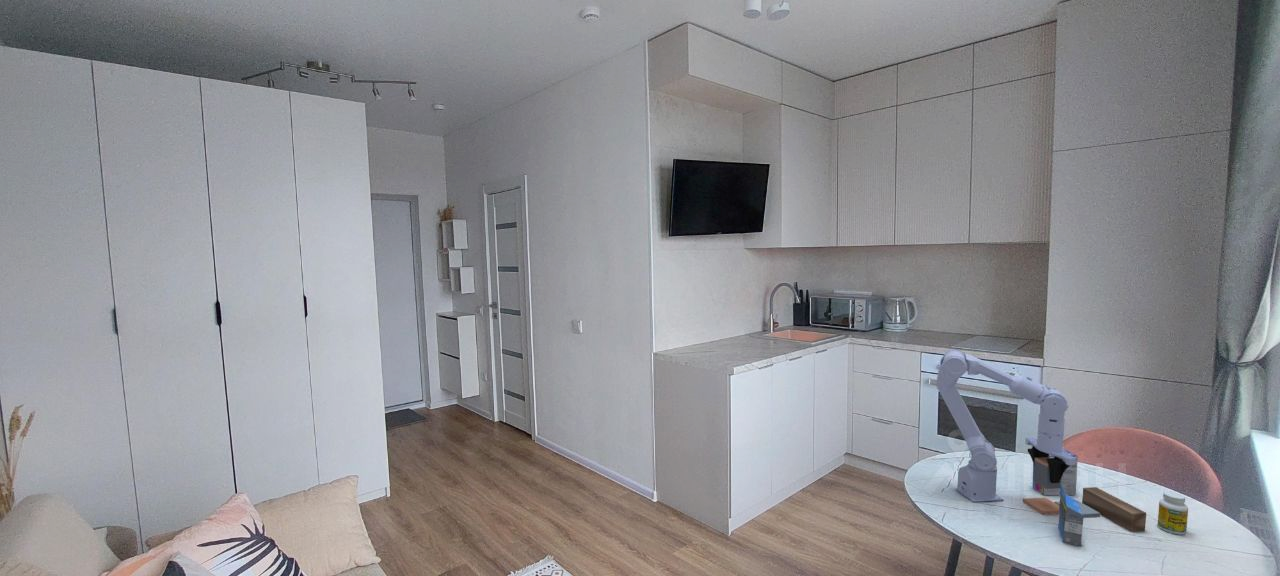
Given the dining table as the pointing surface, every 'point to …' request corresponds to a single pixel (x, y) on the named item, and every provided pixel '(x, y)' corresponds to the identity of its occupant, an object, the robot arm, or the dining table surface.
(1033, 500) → the terracotta pad
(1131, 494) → the dining table surface
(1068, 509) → the label tape cartridge
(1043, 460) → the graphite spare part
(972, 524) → the dining table surface
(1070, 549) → the dining table surface
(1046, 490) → the ink cartridge box
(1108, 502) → the block
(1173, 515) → the supplement bottle
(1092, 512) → the slate pad
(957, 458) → the dining table surface
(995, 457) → the robot arm
